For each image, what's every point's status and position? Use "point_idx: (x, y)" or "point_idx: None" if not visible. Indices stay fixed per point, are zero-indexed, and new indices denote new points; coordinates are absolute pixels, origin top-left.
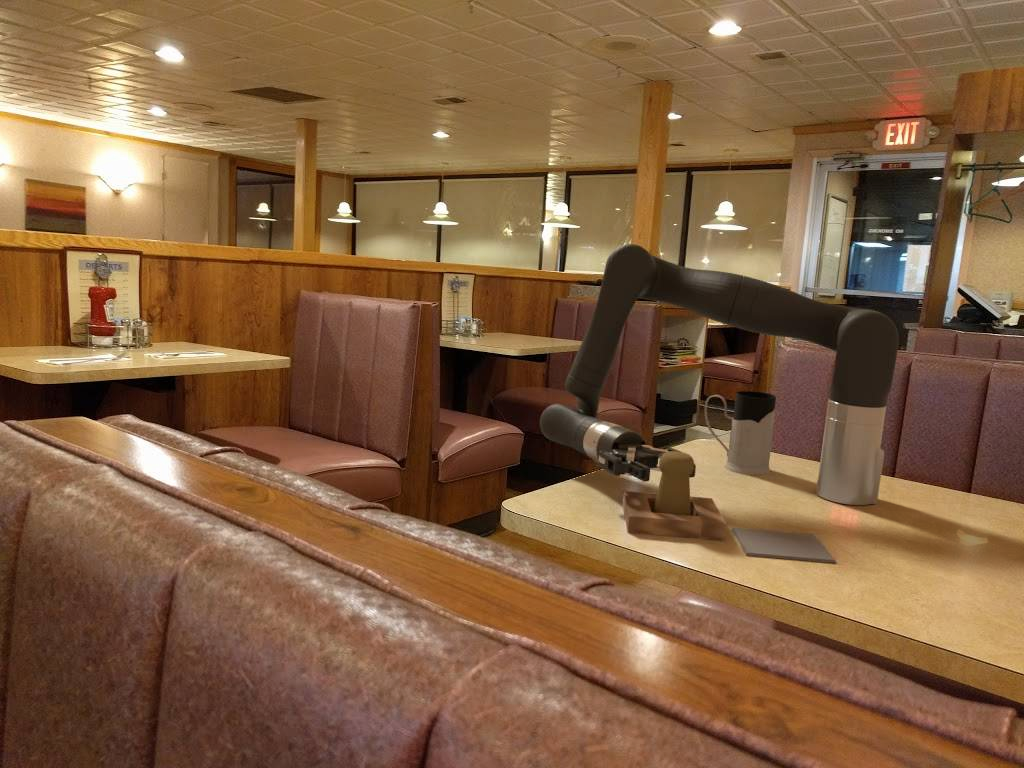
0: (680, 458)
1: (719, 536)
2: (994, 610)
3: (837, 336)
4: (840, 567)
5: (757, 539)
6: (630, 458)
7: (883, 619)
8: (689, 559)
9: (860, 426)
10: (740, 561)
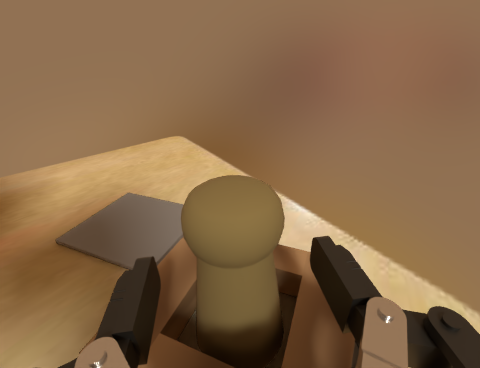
0: (242, 176)
1: None
2: (112, 154)
3: None
4: (135, 190)
5: (155, 233)
6: (383, 338)
7: (193, 152)
8: None
9: None
10: None
